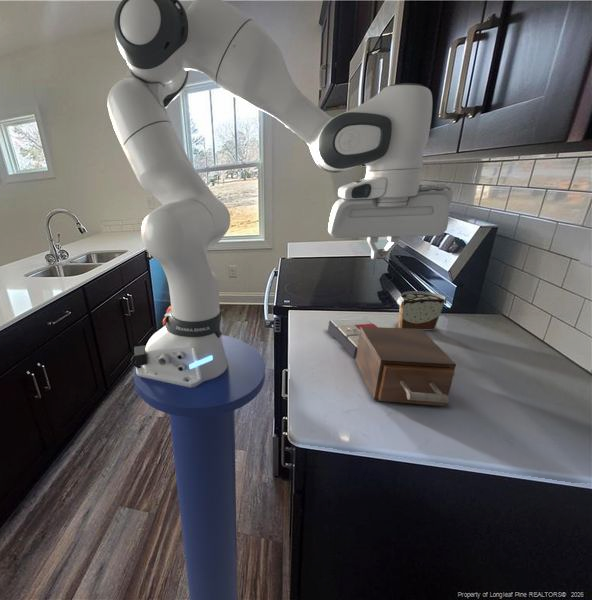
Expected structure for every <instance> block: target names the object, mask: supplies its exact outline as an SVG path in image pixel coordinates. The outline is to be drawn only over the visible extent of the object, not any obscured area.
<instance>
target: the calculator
mask: <svg viewBox="0 0 592 600" xmlns="http://www.w3.org/2000/svg"><path fill="white" fill-rule="evenodd" d="M360 327H378V326H377V325H376V324H374V323H372V322H371V321H370V320H369V319H368V318H366V317H356V318H355V317H354V318H343V319H341V318H340V319H332V320H329V321H328V327H327V333H328V334H329V335H330V336H331V337H332V338H335V340H336V341H338V343H339V344H340V345H341V346H342V347H343V348H344V350H346V351H347V353H348V354H349V355H350V356H351V357H352V358H353V359H356V355H357V348H358V341H359V334H360Z"/></svg>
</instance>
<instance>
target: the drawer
mask: <svg viewBox="0 0 592 600" xmlns="http://www.w3.org/2000/svg"><path fill="white" fill-rule="evenodd" d="M454 376H455V370H454V371H453V369H452V368H443V367H420V366H403V365H398V364H384V367H383V372H382V378H381V383H380V389H379V394H378V398H379V400H380V401H379V402H392V403H401V404H402V403H403V404H415V405H427V406H440V407H446V404H447V403H448V402H449V393H450V391H451V387H452V383H453V380H454Z"/></svg>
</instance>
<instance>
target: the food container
mask: <svg viewBox="0 0 592 600" xmlns="http://www.w3.org/2000/svg"><path fill="white" fill-rule="evenodd" d="M447 301H448V300H447V296H446V295H442V294H439V293H435V292H430V291H421V290H410V291H404V292H402V293H400V295H399V297H398V298H397V300H396V303H397V305H398V306H399V311H398V325H397V328H410V329H422V330H423V331H435V330H436V327H437V325H438V322H439V320H440V319H439V318H440V316H441V313H442V311H443V307H444V305H447Z"/></svg>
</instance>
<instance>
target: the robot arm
mask: <svg viewBox="0 0 592 600" xmlns="http://www.w3.org/2000/svg"><path fill="white" fill-rule="evenodd" d="M113 27H114V29H113V30H114V36H115V40H116V44H117V47H118V50H119V53H120V54H121V55H122V58H123V59H124V60H125V62H126V64H127V66H128V67H129V69H127V72H126V74H125V76H124V77H123V78H122V79H120V80H118V81H117V82H116V83H114V84H113V86H112V87H111V89H110V90H109V92H108V95H107V100H106V101H107V102H106V104H107V109H108V114H109V117H110V120H111V123H112V126H113V129H114V131H115V134H116V137H117V139H118V141H119V144H120V146H121V148H122V150H123V152H124V154H125V157H126V159H127V161H128V162H129V165H130V167H131V169H132V171H133V173H134V175H135V177H136V179H137V181H138V183H139V185H140V186H141V187H142V189H143V190H145V191H146V192H148V193H149V194H151V195H152V196H153V197H155V198H156V199H157V201H158V202H160V204H161V205H160V206H159V207H157V208H156V209H154V210H152V211H151V212H149V213H148V214H147V215H146V217H145V218H144V219H143V221H142V224H141V229H140V236H141V241H142V244H143V247H144V248H145V250H146V251H147V253H148V254H149V255H150V256H151V257H152V258H154V259H155V260H157V261H158V262H159V264H160V265H161V267H162V269H163V270H162V271H163V272H164V274H165V277H166V281H167V284H168V290H169V299H170V305H169V306H168V308H167V309H166V313H165V314H164V316H163V319H162V327H161V328H160V329H158V330H157V331H155V332H154V333H153V334H152V335H151V336H150V338H149V339H148V341H147V343H146V345H139V346H138V345H137V346H134V347H133V349H134V351H133V352H134V354H133V355H132V357H131V359H130V363H131V365H132V367H134V368H135V367H136V373H137V375H138V376H140V377H144V378H149V379H153V380H158V381H163V382H167V383H172V384H176V385H181V386H186V387H191V388H192V387H196V386H198V385H199V384H201V383H202V382H204V381H207V380H210V379H213V378H216V377H218V376H219V375H221V374H222V373H223V372H224V371H225V370H226V369H227V367H228V360H227V358H226V355H225V352H224V348H223V343H222V336H221V335H223V315H222V310H221V308H220V283H219V282H220V281H219V278H218V276H217V274H215V273H214V271H213V270H212V268H211V265H210V261H209V257H208V248H211V247H212V246H215V245H217V244H218V243H219V242H220V241H221V240H222V239H223V238H224V237H225V235H226V234H227V233H228V232H229V229H230V226H231V215H230V211H229V208H228V207H227V206H226V204H225V203H223V202H222V201H221V200H220V199H218V198H217V197H216V196H215V194H214V193H213V192H212V191H211V189H210V188H209V186H208V185H207V184H206V182H205V181H204V180H203V178H202V177H201V175H200V174H199V173H198V171H197V170H196V168H195V167H194V165H193V164H192V162H191V160H190V158H189V157H188V153H186V151H185V148H184V147H183V144H182V142H181V140H180V138H179V135H178V133H177V132H176V129H175V127H174V125H173V123H172V121H171V119H170V117H169V114H168V112H167V110H166V108H168V107H169V105H170V104H171V103H172V101H174V100H175V99H177V98H178V97H179V96H181V94H182V93H183V91H184V90H185V88H186V86H187V83H188V79H189V71H195V72H199V73H201V74H203V75H205V76H206V77H207V78H208V79H210V80H211V81H212V82H213V83H214V84H215V85H217V86H218V87H219V88H221V90H223V91H225V92H226V93H228V94H229V95H231V96H232V97H234V98H236V99H237V100H239V101H241V102H242V103H245V104H247V105H249V106H251V107H254V108H255V109H258V110H259V111H261V112H264V113H266V114H267V115H270V116H271V117H273V118H275V119H276V121H278V122H280V124H282V125H283V126H284V127H286V128H287V129H289V131H290V132H291V133H292V134H294V135H295V136H297V137H298V138H299V139H300V140H301V141H302V142H303V143H304V144H305V145H306V146H307V147H308V149H309V151H310V154H311V156H312V158H313V161H314V162H315V164H316V166H318V168H319V169H321V170H322V171H324V172H327V173H331V174H332V173H333V174H336V173H337V174H338V173H341V172H342V173H343V172H345V171H348V170H351V169H354V168H357V167H359V166H362V165H365V167H366V170H365V171H366V172H365V177H364V178H361V179H359V180H355V181H353V182H350V183H347V184H343V185H341V186H340V187H339V188H338V190H337V195H338V197H339V199H337V200H336V201H335V202H334V204H333V205H332V208H331V212H330V214H329V215H330V216H329V222H328V227H327V231H328V232H327V233H328V234H329V235H330V236H331V237H332V238H334V239H353V238H355V239H356V238H357V239H358V238H366V242H367V244H368V246H369V248H370V250H371V252H370V258H371V259H372V260H389V259H390V256H391V251H393V250H394V249H395V247H396V246H397V245H398V244H399V241H400V237H401V238H402V237H441V236H442V235H443V234H444V233H445V232H446V231H447V230H448V226H449V225H448V224H449V217H450V205H451V203H452V200H453V195H454V191H453V189H452V188H451V187H450V186H448V185H447V184H446V183H437V184H421V180H422V175H423V168H424V161H423V160H424V159H423V154H424V151H425V148H426V146H427V143H428V141H429V138H430V137H429V136H430V130H431V126H432V125H431V124H432V117H433V93H432V91H431V89H429V88H428V87H427V86H424V85H423V84H421V83H414V82H413V83H412V82H401V83H393V84H390V85H387V86H385V87H383V88H382V89H381V90H380V91H379V92H378V93H377V94H375V95H374V96H373V97H371V98H370V99H368V100H366V101H365V102H363V103H362V104H359V105H358V106H355V107H354V108H351V109H349V110H347V111H344V112H342V113H340V114H337V115H336V116H334V117H333V116H331V115H328V114H327V113H326V112H325V111H324V110H323V109H321V108H320V107H319V106H318V105H317V104H316V103H314V101H312V100H311V99H310V98H309V97H308V96H306V95H305V94H304V93H303V92H302V91H301V90H300V89H299V88H298V86H297V85H296V84H295V82H294V80H293V78H292V77H291V74H290V72H289V70H288V67H287V64H286V60H285V57H284V54H283V53H282V50H281V48H280V47H279V46H278V44H277V43H276V42H275V40H274V39H273V38H272V36H270V34H269V33H268V32H267V31H266V30H265V29H264V28H263V27H262V26H261V25H260V24H258V23H257V22H256V20H254V19H252V18H251V17H250V16H249V15H247V14H246V13H245V12H243V11H241V10H240V9H239V8H237V7H235V6H234V5H232V4H230V3H228V2H227V1H225V0H193V1H192V2H191V3H190V4H189V6H188V8H187V9H185V8H184V6H183V4H182V2H181V1H180V0H121V1H120V3H119V5H118V6H117V8H116V11H115V14H114V22H113ZM379 238H386V241H388V242H387V244H386V245H385V246H384V248H377V245H376V244H375V243H378V242H379Z"/></svg>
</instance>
